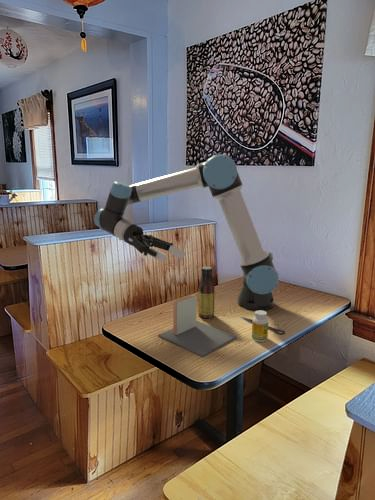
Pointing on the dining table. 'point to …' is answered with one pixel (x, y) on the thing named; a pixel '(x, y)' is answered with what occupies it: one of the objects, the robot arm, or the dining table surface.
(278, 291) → the dining table surface
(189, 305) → the terracotta tile
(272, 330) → the throwing knife
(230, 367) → the dining table surface
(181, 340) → the rubber mat
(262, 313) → the supplement bottle
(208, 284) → the sauce bottle
